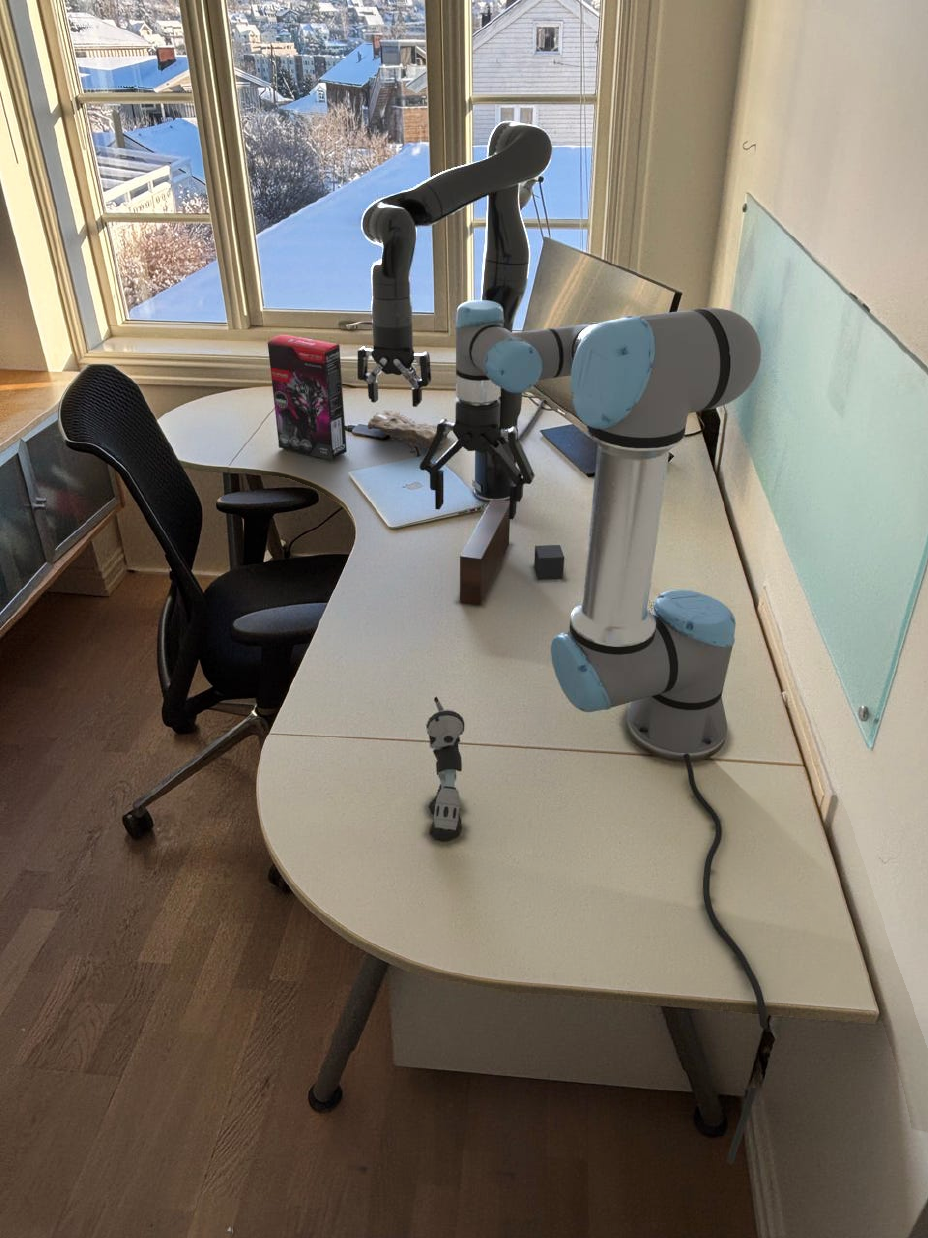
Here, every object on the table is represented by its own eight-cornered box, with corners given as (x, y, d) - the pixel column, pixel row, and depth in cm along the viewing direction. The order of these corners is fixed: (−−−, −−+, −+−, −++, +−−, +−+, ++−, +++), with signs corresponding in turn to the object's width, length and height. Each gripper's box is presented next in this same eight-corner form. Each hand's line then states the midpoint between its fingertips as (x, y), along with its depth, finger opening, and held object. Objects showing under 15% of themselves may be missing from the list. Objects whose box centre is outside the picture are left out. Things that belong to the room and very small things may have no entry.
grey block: (562, 579, 180) (564, 557, 178) (537, 580, 180) (538, 558, 177) (558, 566, 184) (560, 544, 182) (533, 567, 184) (535, 545, 181)
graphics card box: (276, 448, 231) (264, 340, 216) (293, 439, 236) (282, 332, 221) (333, 462, 225) (324, 351, 209) (349, 452, 230) (341, 343, 214)
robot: (467, 874, 119) (468, 759, 108) (429, 876, 119) (427, 760, 108) (460, 769, 135) (460, 659, 124) (426, 770, 135) (424, 660, 124)
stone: (352, 434, 231) (356, 410, 229) (373, 426, 244) (377, 403, 242) (430, 458, 227) (435, 434, 225) (447, 448, 241) (452, 426, 238)
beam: (480, 605, 172) (481, 559, 167) (459, 602, 173) (460, 556, 168) (509, 545, 192) (510, 501, 186) (490, 542, 192) (491, 499, 187)
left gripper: (434, 317, 174) (435, 400, 183) (363, 311, 177) (367, 393, 186) (422, 328, 168) (424, 414, 177) (349, 322, 171) (354, 406, 180)
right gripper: (555, 397, 154) (547, 510, 166) (413, 382, 160) (416, 493, 172) (547, 414, 148) (539, 530, 160) (399, 397, 154) (403, 511, 166)
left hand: (395, 403), depth 181 cm, fingers open, 8 cm apart
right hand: (475, 511), depth 166 cm, fingers open, 13 cm apart
